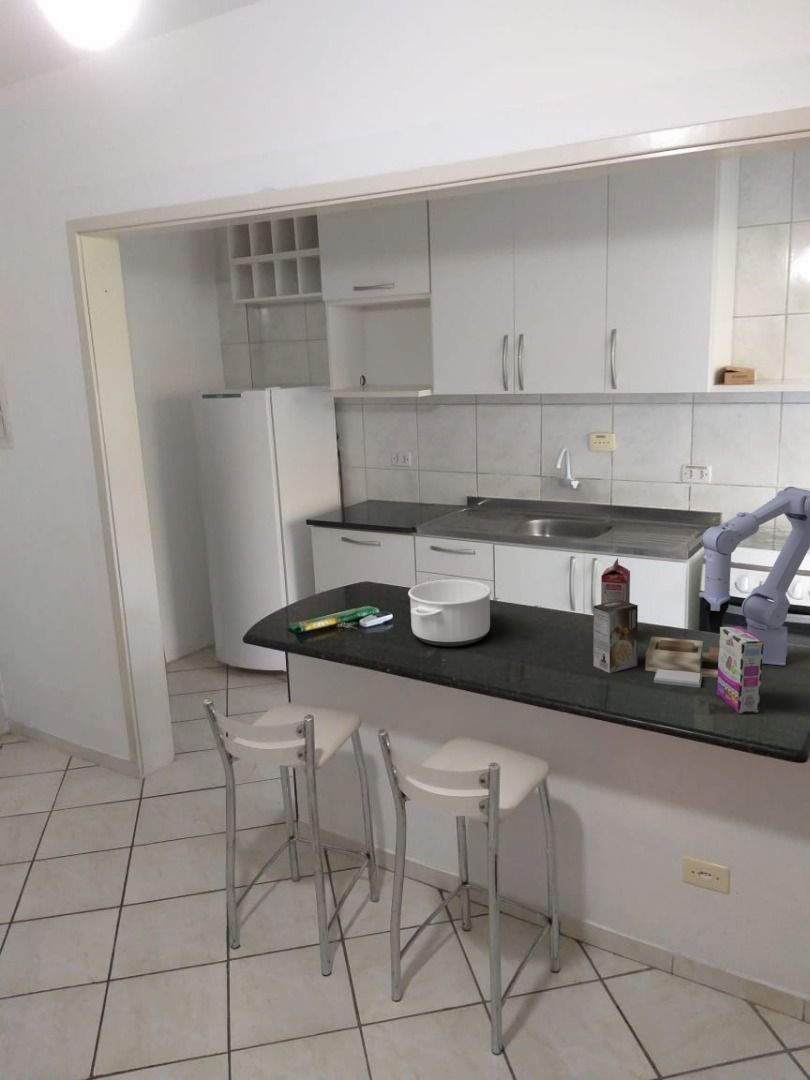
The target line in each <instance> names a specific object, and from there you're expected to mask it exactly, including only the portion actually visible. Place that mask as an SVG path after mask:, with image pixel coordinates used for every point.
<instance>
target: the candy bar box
mask: <svg viewBox="0 0 810 1080" xmlns="http://www.w3.org/2000/svg"><path fill="white" fill-rule="evenodd" d="M718 642H719V645H718V646H719V647H718V648H719V659H718V660H719V661H718V662H717V663H718V664H717V666H718V667H717V670H718V678H716V679H717V680H716V681H717V682H716V695H717V696H718V698H720V699H721V700H722V701H724V702H725V703H726V704H727V705H728V706H729V707H730V708H731V709H733V710H734V711H735V712H736V713H737V714H740V715H742V714H756V713H759V712H760V701H761V687H762V686H761V685H762V672H763V671H762V669H763V663H762V658H763V643H764V642H763V641H762V640H760V639H759V638H757V637H755V636H754V635H752V634H751V633H749V632H748V631H747V629H745V628H743V627H742V626H741V625H737V626H735V625H733V626H721V627H720V632H719V641H718Z"/></svg>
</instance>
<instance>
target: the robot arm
mask: <svg viewBox="0 0 810 1080" xmlns="http://www.w3.org/2000/svg"><path fill="white" fill-rule="evenodd" d="M783 514H784V516H785V517H786V519H787V520H788V522H789V523H790V525H791V531H790V532H789V535H788V537H787V539H786V540H785V542H784V544H783V546H782V548H781V550H780V553H779V554H778V555H777V558H776V559H775V562H774V563H773V566H772V567H771V570H769V574H768V575H767V577H766V579H765V581H764V582H763V584H761V585H759V586H757V587H754V588H753V589H752V591H751V592H750V594H749V595H748V596H747V597H746V598H744V599H743V602H742V604H741V613H742V615H743V617H744V618H745V622H746V624H747V626H746V627H747V629H746V631H748V632H749V633H751V634H752V635H754V636H755V637H757V638H759V639H760V640H762V641H763V642H764V643H763V658H762V665H763V664H765V665H766V664H767V665H775V666H786V665H787V663H786V662H787V657H788V648H787V647H788V646H787V645H788V626H784V624H785V622H786V620H787V618H788V617H787V616H788V610H789V608H790V606H791V603H790V600H789V598H788V597H787V592H788V590H789V588H790V586H791V584H792V583H793V580H794V578H795V577H796V575H797V572H798V570H799V569H800V567H801V565H802V563H803V561H804V559H805V558H806V557H805V556H806V555H807V553H808V551H809V549H810V490H807V489H803V488H798V487H794V486H787V487H785V488H784V489H782V490H779V491H777V493H776V496H775V497H773V498H772V499H770V500H769V501H767V502H765V504H762V505H761V506H759V508H757V509H756V510H754V511H752V512H751V513H750V512H746V511H744V512H743V511H741V512H740V511H739V512H737V513H736V516H735V517H732V518H731V519H730V520H728V521H723V522H722V523H721V524H720V525H719V526H711V527H709V528H708V529H706V530H705V531H704V533H703V535H702V538H700V544H701V546H702V548H703V549H704V556H705V565H704V567H705V569H704V591H700V592H699V594H698V596H699V597H700V598H704V599H705V600H704V602H703V607H704V610H705V611H706V615H707V617H708V626H709V629H710V630H709V631H710V632H719V633H720V627H722V625H723V620H724V616H725V614H726V613H727V611H728V609H729V608H730V607H729V606H730V601H729V600H730V599H731V594H730V593H731V592H730V590H731V587H730V586H731V566H732V565H731V564H732V553H734V551H736V549H737V547H738V545H739V544H741V542H743V541H745V540H746V539H748V538H750V537H751V536H753V535H755V534H757V532H758V531H759V529H760V525H763V524H765V523H767V522H769V521H771V520H774V519H775V518H777V517H779V516H781V515H783Z"/></svg>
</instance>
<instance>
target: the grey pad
mask: <svg viewBox="0 0 810 1080" xmlns="http://www.w3.org/2000/svg"><path fill="white" fill-rule="evenodd" d="M702 679H703V676H702V674H700V673H694V672H684V671H674V670H664V669H658V670H657V671H656V672H655V674H654V678H653V683H655V684H662V685H672V686H680V687H681V686H682V687H689V688H690V687H692V688H699V689H700V688H701V685H702Z"/></svg>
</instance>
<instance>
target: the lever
mask: <svg viewBox="0 0 810 1080" xmlns="http://www.w3.org/2000/svg"><path fill="white" fill-rule="evenodd" d="M658 650H659V648H658ZM708 650H709V651H708V652H706V651H703V652H702V653H701V658H706V659H716V660H718V659H719V647H711V646H709V649H708ZM694 653H698V652H695V651H694Z"/></svg>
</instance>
